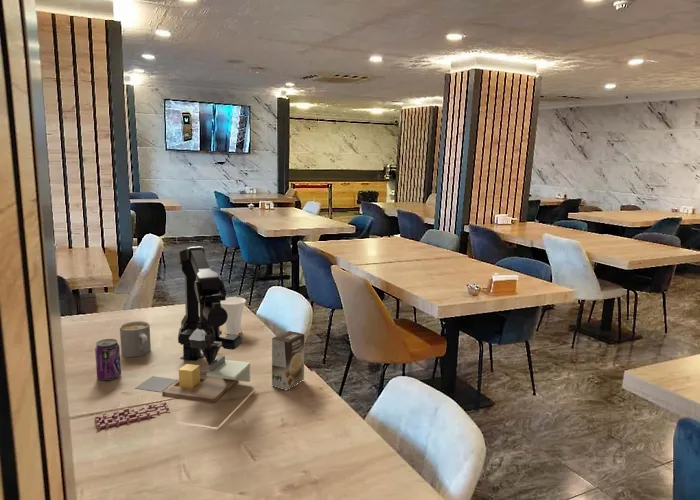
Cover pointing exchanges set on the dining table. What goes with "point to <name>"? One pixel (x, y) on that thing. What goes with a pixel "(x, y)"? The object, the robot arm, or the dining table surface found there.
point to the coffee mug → (135, 339)
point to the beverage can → (107, 359)
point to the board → (201, 388)
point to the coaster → (156, 384)
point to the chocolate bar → (128, 416)
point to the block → (189, 376)
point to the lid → (229, 369)
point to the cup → (233, 314)
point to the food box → (287, 359)
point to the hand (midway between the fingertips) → (210, 365)
